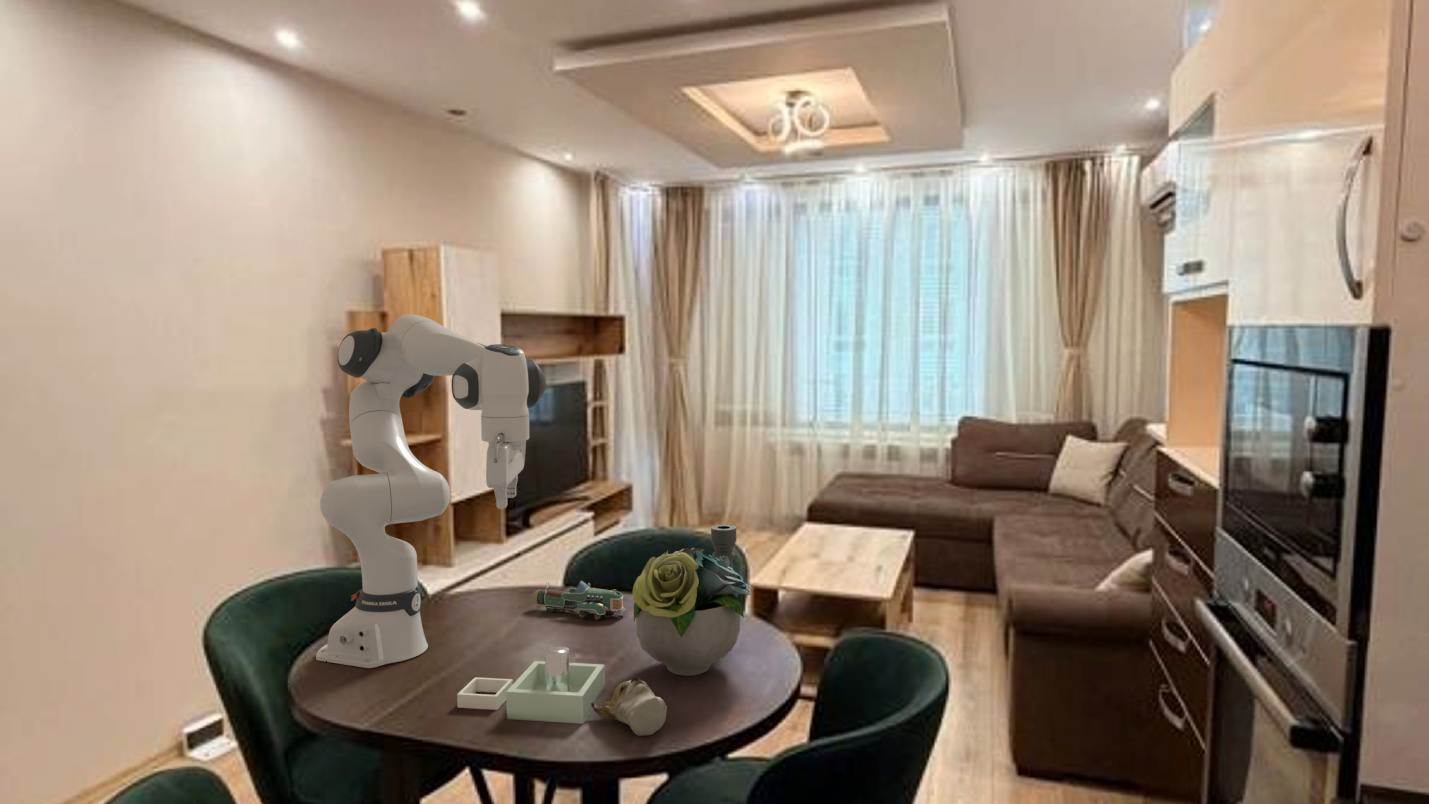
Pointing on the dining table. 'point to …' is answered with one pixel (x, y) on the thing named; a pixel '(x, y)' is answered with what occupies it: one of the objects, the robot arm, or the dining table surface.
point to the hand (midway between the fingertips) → (506, 502)
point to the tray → (556, 694)
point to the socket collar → (484, 701)
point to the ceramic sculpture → (634, 707)
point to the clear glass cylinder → (557, 669)
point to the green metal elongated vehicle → (582, 600)
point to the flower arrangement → (688, 609)
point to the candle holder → (724, 541)
